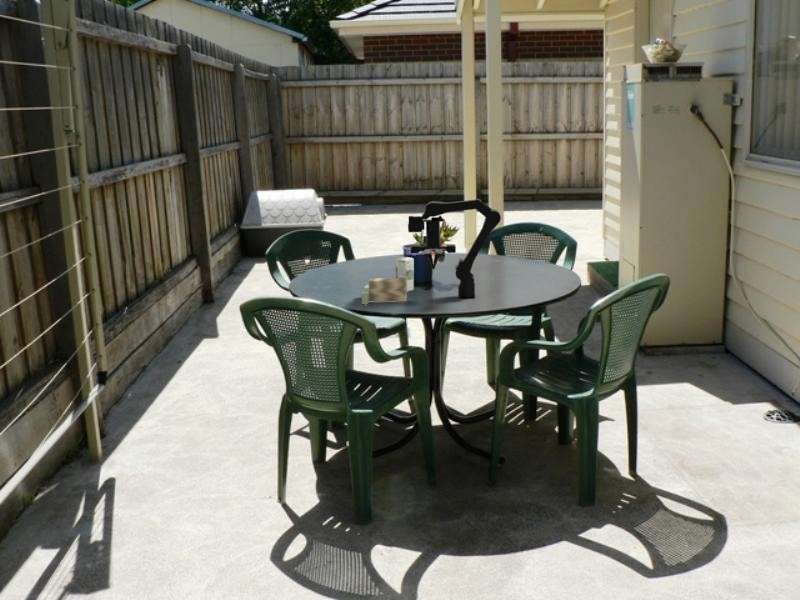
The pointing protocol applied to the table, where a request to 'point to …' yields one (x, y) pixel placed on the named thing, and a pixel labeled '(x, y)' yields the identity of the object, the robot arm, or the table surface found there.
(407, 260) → the syrup box
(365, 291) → the sage batten
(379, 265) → the table surface
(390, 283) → the beech block
